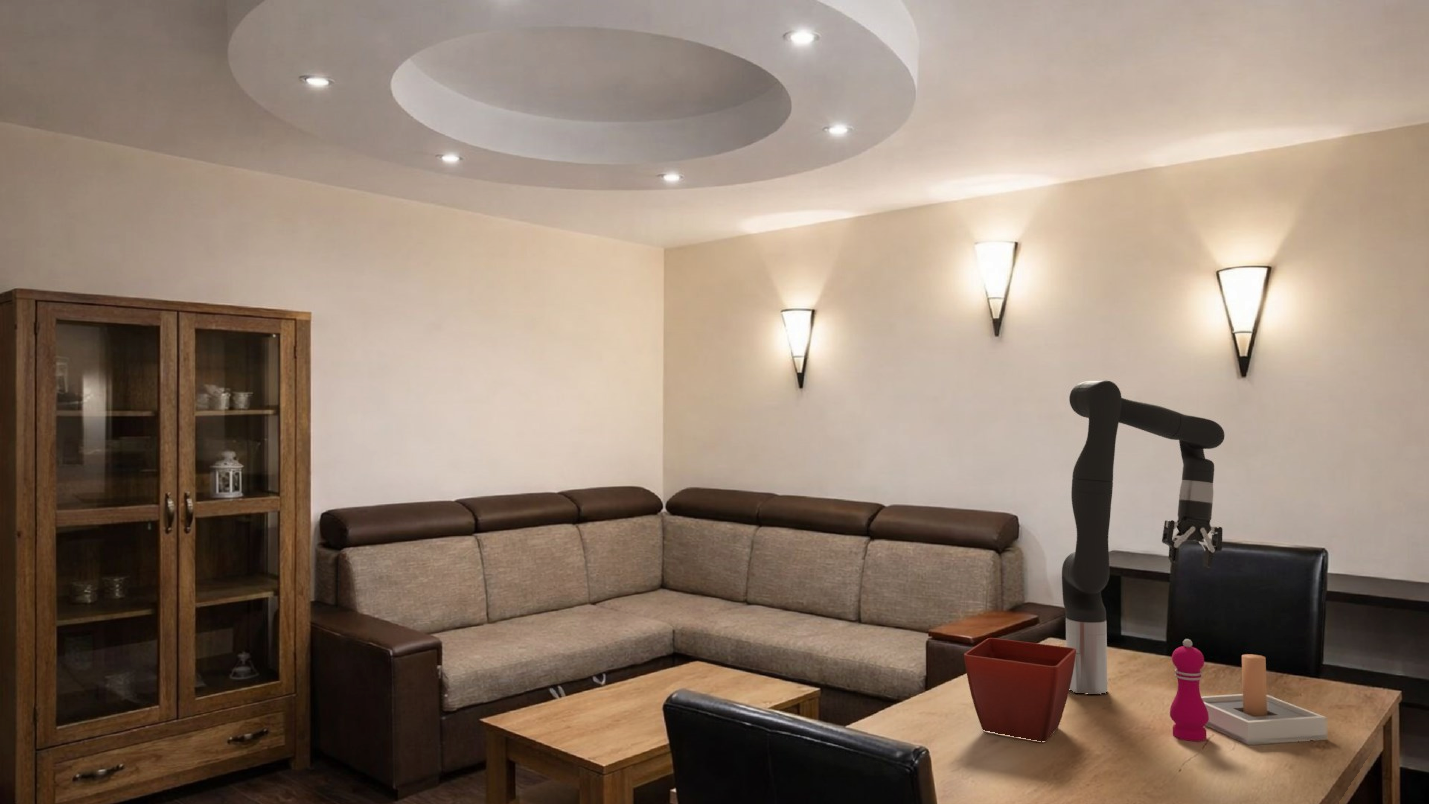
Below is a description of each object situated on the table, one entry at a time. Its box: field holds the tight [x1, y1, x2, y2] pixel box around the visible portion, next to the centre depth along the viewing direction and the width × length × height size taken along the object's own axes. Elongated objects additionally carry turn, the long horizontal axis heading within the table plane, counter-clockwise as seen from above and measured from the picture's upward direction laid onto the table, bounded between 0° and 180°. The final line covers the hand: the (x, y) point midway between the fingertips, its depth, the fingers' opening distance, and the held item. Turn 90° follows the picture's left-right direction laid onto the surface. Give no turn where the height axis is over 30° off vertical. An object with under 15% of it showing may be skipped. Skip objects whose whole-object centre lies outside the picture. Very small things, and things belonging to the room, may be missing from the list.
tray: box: [1201, 693, 1328, 746], centre depth 201 cm, size 18×18×4 cm
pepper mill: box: [1169, 638, 1209, 742], centre depth 196 cm, size 7×7×20 cm
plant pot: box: [963, 637, 1076, 742], centre depth 201 cm, size 19×19×17 cm
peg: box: [1241, 653, 1268, 717], centre depth 201 cm, size 4×4×14 cm
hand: (1190, 565), depth 235 cm, fingers open, 8 cm apart
